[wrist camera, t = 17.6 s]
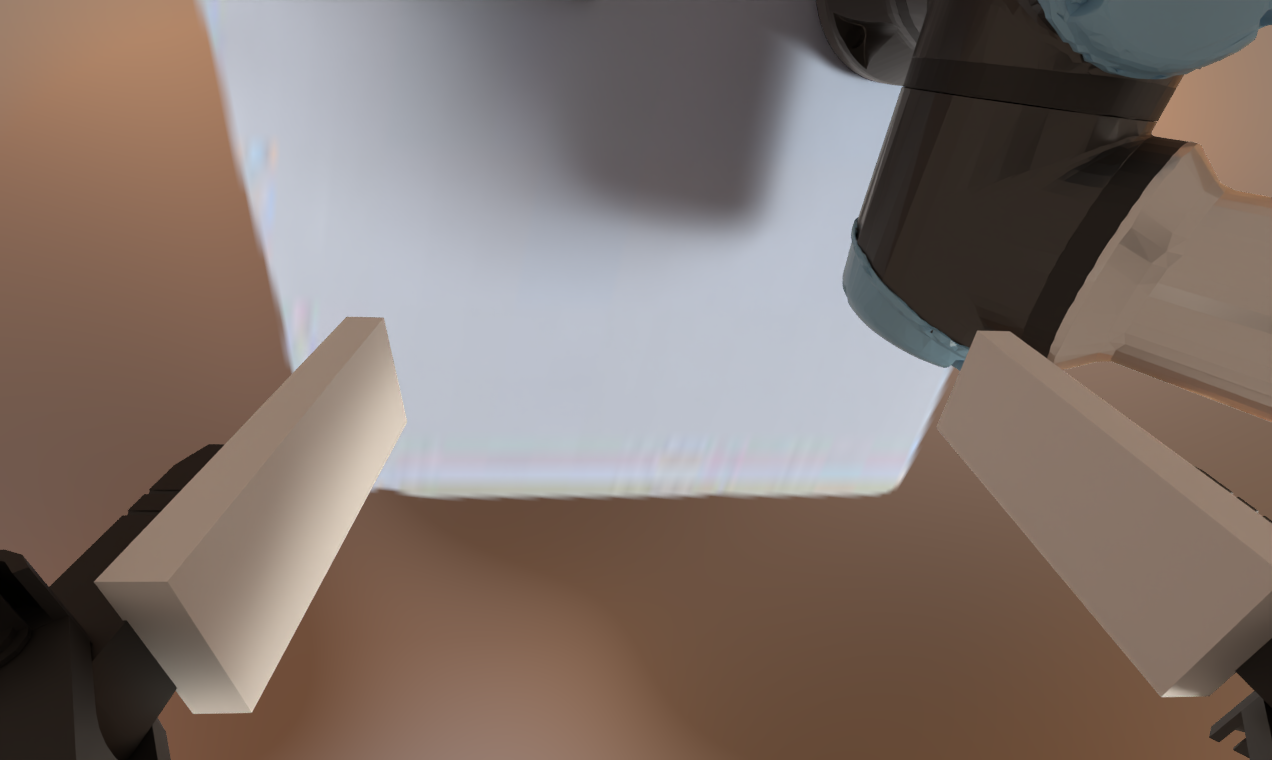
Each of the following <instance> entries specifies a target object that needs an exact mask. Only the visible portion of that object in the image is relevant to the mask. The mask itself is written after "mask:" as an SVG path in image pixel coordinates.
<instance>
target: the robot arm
mask: <svg viewBox="0 0 1272 760" xmlns="http://www.w3.org/2000/svg"><path fill="white" fill-rule="evenodd" d="M816 2H817V9H818V15H819V19H820V23H821V26H822V29H823V31H824V34H825V36H826V39H827V41H828V43H829V44H830V46H831V48H832V49H833V51H834V52H835V54H836V55H837V56H838V58H839V59H840V60H841V61H842V62H843V63H844V64H845V65H846V66H847V67H848V68H850V69H851V70H852V71H854V72H855V73H857V74H858V75H860V76H862V77H864V78H866V79H869V80H872V81H875V82H879V83H884V84H891V85H899V86H904V87H902V88H901V91H900V94H899V97H898V100H897V103H896V106H895V109H894V112H893V115H892V118H891V121H890V124H889V127H888V130H887V133H886V136H885V139H884V142H883V145H882V148H881V151H880V154H879V157H878V160H877V163H876V166H875V169H874V172H873V175H872V178H871V181H870V184H869V187H868V190H867V193H866V196H865V199H864V202H863V205H862V208H861V211H860V214H859V217H858V218H857V219H856V220H855V221H854V224H853V227H852V232H851V239H852V243H851V247H850V250H849V254H848V257H847V261H846V265H845V268H844V272H843V289H844V292H845V294H846V296H847V298H848V303H849V305H850V306H851V308H852V309H853V311H854V312H855V313H856V315H857V316H858V317H859V318H860V319H861V320H862V321H863V322H864V323H865V324H866V325H867V326H868V327H869V328H870V329H871V330H873V331H874V332H875V333H877V334H878V335H879V336H881V337H882V338H884V339H885V340H886V341H888V342H890V343H891V344H893V345H894V346H896V347H898V348H899V349H901V350H903V351H905V352H907V353H909V354H911V355H913V356H915V357H917V358H919V359H921V360H924V361H926V362H929V363H931V364H934V365H937V366H940V367H943V368H947V367H949V366H950V365H952V366H953V367H955V368H957V369H958V370H959V371H960V373H959V375H958V378H957V380H956V382H955V385H954V387H953V389H952V392H951V394H950V397H949V399H948V401H947V404H946V406H945V409H944V411H943V413H942V416H941V418H940V420H939V423H938V425H937V429H938V430H939V432H940V433H941V434H942V435H943V437H944V438H945V439H946V440H947V441H948V443H949V444H950V445H951V446H952V447H953V449H954V450H955V451H956V452H957V453H958V455H959V456H960V457H961V458H962V459H963V461H964V462H965V463H966V464H967V465H968V467H969V468H970V469H971V470H972V471H973V473H975V475H976V476H977V477H978V479H979V480H980V481H981V482H982V483H983V485H984V486H985V487H986V488H987V489H988V490H989V492H990V493H991V494H992V495H993V496H994V498H995V499H996V500H997V501H998V502H999V504H1000V505H1001V506H1002V507H1003V508H1004V510H1005V511H1006V512H1007V513H1008V514H1009V516H1010V517H1011V518H1012V519H1013V520H1014V522H1015V523H1016V524H1017V525H1018V526H1019V527H1020V529H1021V530H1022V531H1023V532H1024V534H1025V535H1026V536H1027V537H1028V538H1029V540H1030V541H1031V542H1032V543H1033V544H1034V546H1035V547H1036V548H1037V549H1038V550H1039V551H1040V553H1041V554H1042V555H1043V556H1044V557H1045V559H1046V560H1047V561H1048V562H1049V564H1050V565H1051V566H1052V567H1053V568H1054V570H1055V571H1056V572H1057V573H1058V574H1059V575H1060V577H1061V578H1062V579H1063V580H1064V581H1065V583H1066V584H1067V585H1068V586H1069V587H1070V589H1071V590H1072V591H1073V592H1074V593H1075V595H1076V596H1077V597H1078V598H1079V599H1080V601H1081V602H1082V603H1083V604H1084V605H1085V607H1086V608H1087V609H1088V610H1089V611H1090V613H1091V614H1092V615H1093V616H1094V617H1095V619H1096V620H1097V621H1098V622H1099V623H1100V625H1101V626H1102V627H1103V628H1104V629H1105V630H1106V632H1107V633H1108V634H1109V635H1110V636H1111V638H1112V639H1113V640H1114V641H1115V643H1116V644H1117V645H1118V646H1119V647H1120V648H1121V650H1122V651H1123V652H1124V653H1125V655H1126V656H1127V657H1128V658H1129V659H1130V660H1131V661H1132V663H1133V664H1134V665H1135V666H1136V668H1137V669H1138V670H1139V671H1140V672H1141V673H1142V675H1143V676H1144V677H1145V678H1146V680H1147V681H1148V682H1149V683H1150V684H1151V686H1152V687H1153V688H1154V689H1155V690H1156V692H1157V693H1158V694H1159V695H1160V696H1161V697H1192V696H1193V697H1195V696H1210V695H1211V694H1212V693H1213V692H1214V691H1216V690H1217V689H1218V688H1219V687H1220V686H1221V685H1222V684H1223V683H1225V682H1226V681H1227V680H1228V679H1229V678H1230V677H1231V676H1232V675H1234V674H1235V673H1236V672H1237V673H1238V674H1239V675H1240V676H1241V677H1242V678H1243V679H1244V680H1245V681H1246V682H1247V683H1248V684H1249V685H1250V686H1251V687H1252V688H1253V689H1254V692H1253V693H1251V694H1250V695H1249V696H1248V697H1246V698H1245V699H1244V700H1243V701H1242V702H1241V703H1239V704H1238V705H1237V706H1236V707H1234V708H1233V709H1232V710H1231V711H1230V712H1228V713H1227V714H1226V715H1225V716H1224V717H1222V718H1221V719H1220V720H1219V721H1218V722H1216V723H1215V724H1214V725H1213V726H1212V727H1211V731H1210V736H1209V737H1210V738H1211V739H1213V740H1215V741H1217V742H1220V741H1221V740H1223V739H1224V738H1225V737H1226V736H1228V735H1229V734H1230V733H1231V732H1233V731H1234V730H1239V731H1242V732H1245V735H1246V738H1245V739H1244V740H1242V741H1241V742H1240V743H1239V744H1237V745H1236V746H1235V747H1234V748H1233V750H1234V751H1236V752H1238V753H1240V754H1242V755H1244V756H1246V757H1248V758H1250V760H1272V521H1271V520H1269V519H1268V518H1267V517H1266V516H1261V515H1259V514H1258V510H1256V509H1255V508H1253V507H1252V506H1251V505H1249V504H1248V503H1247V502H1245V501H1244V500H1242V499H1241V498H1239V497H1235V496H1234V495H1233V492H1231V491H1230V490H1229V489H1227V488H1226V487H1224V486H1223V485H1222V484H1220V483H1219V482H1217V481H1216V480H1215V479H1214V478H1212V477H1211V476H1210V475H1208V474H1207V473H1205V472H1204V471H1202V470H1201V469H1199V468H1197V467H1195V466H1193V465H1191V464H1190V463H1189V462H1187V461H1186V460H1184V459H1183V458H1182V457H1180V456H1179V455H1178V454H1176V453H1175V452H1174V451H1172V450H1171V449H1170V448H1168V447H1167V446H1165V445H1164V444H1163V443H1161V442H1160V441H1159V440H1157V439H1156V438H1154V437H1153V436H1152V435H1150V434H1149V433H1148V432H1146V431H1145V430H1144V429H1142V428H1141V427H1140V426H1138V425H1137V424H1135V423H1134V422H1133V421H1131V420H1130V419H1129V418H1127V417H1126V416H1124V415H1123V414H1122V413H1120V412H1119V411H1118V410H1116V409H1115V408H1114V407H1112V406H1111V405H1110V404H1108V403H1107V402H1105V401H1104V400H1103V399H1101V398H1100V397H1099V396H1097V395H1096V394H1094V393H1093V392H1092V391H1090V390H1089V389H1088V388H1086V387H1085V386H1084V385H1082V384H1081V383H1080V382H1078V381H1077V380H1076V379H1074V378H1073V377H1071V376H1070V375H1069V374H1067V373H1066V372H1065V371H1063V370H1066V369H1070V368H1074V367H1078V366H1082V365H1086V364H1090V363H1094V362H1114V363H1116V364H1119V365H1122V366H1125V367H1127V368H1130V369H1132V370H1135V371H1138V372H1140V373H1143V374H1145V375H1148V376H1151V377H1153V378H1156V379H1159V380H1161V381H1164V382H1166V383H1169V384H1172V385H1175V386H1177V387H1180V388H1182V389H1185V390H1188V391H1190V392H1193V393H1195V394H1198V395H1201V396H1203V397H1206V398H1209V399H1212V400H1214V401H1217V402H1219V403H1222V404H1224V405H1227V406H1230V407H1233V408H1235V409H1238V410H1241V411H1243V412H1246V413H1249V414H1251V415H1254V416H1256V417H1259V418H1261V419H1264V420H1267V421H1270V422H1272V197H1268V196H1262V195H1258V194H1252V193H1247V192H1242V191H1237V190H1233V189H1232V188H1230V187H1227V186H1226V185H1223V184H1222V183H1221V182H1220V180H1219V178H1218V177H1217V175H1216V173H1215V171H1214V169H1213V167H1212V165H1211V163H1210V161H1209V159H1208V157H1207V155H1206V153H1205V151H1204V149H1203V148H1202V145H1200V144H1198V143H1194V142H1186V141H1180V140H1173V139H1167V138H1161V137H1155V136H1153V135H1152V134H1151V133H1152V130H1153V128H1154V127H1155V125H1156V123H1157V122H1155V121H1158V120H1159V118H1160V116H1161V114H1162V112H1163V111H1164V109H1165V107H1166V105H1167V104H1168V102H1169V100H1170V98H1171V97H1172V95H1173V93H1174V91H1175V90H1176V88H1177V86H1178V84H1179V83H1180V81H1181V79H1182V77H1183V76H1184V74H1188V73H1189V72H1191V71H1193V70H1195V69H1200V68H1202V67H1205V66H1207V65H1209V64H1212V63H1214V62H1217V61H1220V60H1222V59H1224V58H1226V57H1228V56H1230V55H1232V54H1234V53H1236V52H1238V51H1239V50H1241V49H1243V48H1244V47H1246V46H1247V45H1249V44H1250V43H1251V42H1252V41H1253V40H1255V38H1256V36H1257V32H1258V29H1260V28H1262V27H1264V26H1267V25H1272V0H816ZM406 423H407V419H406V415H405V410H404V406H403V401H402V397H401V392H400V388H399V384H398V379H397V375H396V370H395V366H394V361H393V357H392V352H391V348H390V344H389V339H388V335H387V330H386V326H385V321H384V318H375V317H346V318H345V319H344V320H343V321H342V322H341V323H340V324H339V325H338V327H337V328H336V329H335V330H334V331H333V332H332V333H331V334H330V335H329V336H328V337H327V338H326V339H325V340H324V341H323V342H322V343H321V344H320V345H319V346H318V347H317V349H316V350H315V351H314V352H313V353H312V354H311V355H310V356H309V357H308V358H307V359H306V360H305V361H304V362H303V363H302V364H301V365H300V366H299V367H298V368H297V369H296V371H295V372H294V373H293V374H292V375H291V376H290V377H289V378H288V379H287V380H286V381H285V382H284V383H283V384H282V385H281V386H280V387H279V388H278V389H277V391H276V392H275V393H274V394H273V395H272V396H271V397H270V398H269V399H268V400H267V401H266V402H265V403H264V404H263V405H262V406H261V407H260V408H259V409H258V410H257V411H256V413H255V414H254V415H253V416H252V417H251V418H250V419H249V420H248V421H247V422H246V423H245V424H244V425H243V426H242V427H241V428H240V429H239V430H238V431H237V432H236V434H235V435H234V436H233V437H232V438H231V439H230V440H229V441H228V442H227V443H226V444H225V445H219V444H209V445H207V446H205V447H204V448H202V449H200V450H199V451H197V452H196V453H194V454H192V455H190V456H189V457H187V458H185V459H184V460H182V461H180V462H179V463H177V464H176V465H174V466H173V467H172V468H171V469H170V470H169V471H168V472H167V473H166V474H165V475H164V476H163V477H162V478H161V479H160V480H159V481H158V482H157V483H155V484H154V485H153V486H152V488H150V492H149V494H144V495H143V496H142V497H141V498H140V499H139V500H138V501H137V502H136V503H135V504H134V505H133V506H132V507H131V508H130V509H129V510H128V515H127V516H122V517H121V518H120V519H119V520H117V522H115V524H113V526H111V527H110V528H109V529H108V530H107V531H106V532H105V533H104V534H103V535H102V536H101V537H100V538H99V539H98V540H97V541H96V542H95V543H94V544H93V545H92V546H91V547H90V548H89V549H88V550H87V551H86V552H85V553H84V554H83V555H82V556H81V557H80V558H79V559H77V561H75V562H74V563H73V564H72V565H71V566H70V567H69V568H68V569H67V570H66V571H65V572H64V573H63V574H62V575H61V576H60V577H59V578H58V579H57V580H56V581H55V582H54V583H53V584H52V585H51V586H50V587H48V586H47V584H46V583H45V582H44V581H43V580H42V578H41V577H40V576H39V575H38V573H37V572H36V571H35V570H34V569H33V567H32V566H31V565H30V564H29V562H28V561H27V560H26V559H25V558H24V557H23V555H21V554H17V553H14V552H11V551H7V550H0V760H171V759H170V753H169V747H168V742H167V736H166V731H165V730H164V728H163V726H162V725H161V723H160V721H159V719H158V718H157V717H158V716H159V714H160V713H161V711H162V710H163V708H164V707H165V705H166V704H167V702H168V701H169V699H170V698H171V696H172V695H173V693H174V692H175V690H176V692H177V693H178V694H179V696H180V697H181V698H182V700H183V701H184V702H185V703H186V705H187V706H188V708H189V709H190V710H191V712H192V713H193V714H200V713H201V714H204V713H205V714H206V713H252V711H253V709H254V708H255V705H256V704H257V702H258V700H259V698H260V696H261V694H262V693H263V691H264V689H265V687H266V685H267V683H268V681H269V679H270V678H271V676H272V674H273V672H274V670H275V668H276V666H277V664H278V663H279V661H280V659H281V657H282V655H283V653H284V651H285V649H286V648H287V646H288V644H289V642H290V640H291V638H292V636H293V635H294V633H295V631H296V629H297V627H298V625H299V623H300V621H301V619H302V618H303V616H304V614H305V612H306V610H307V608H308V606H309V604H310V603H311V601H312V599H313V597H314V595H315V593H316V592H317V590H318V588H319V586H320V584H321V582H322V580H323V578H324V577H325V575H326V573H327V571H328V569H329V567H330V565H331V563H332V561H333V560H334V558H335V556H336V554H337V552H338V550H339V548H340V547H341V545H342V543H343V541H344V539H345V537H346V535H347V533H348V532H349V530H350V528H351V526H352V524H353V522H354V520H355V518H356V517H357V515H358V513H359V511H360V509H361V507H362V505H363V504H364V502H365V500H366V498H367V496H368V494H369V492H370V490H371V489H372V487H373V485H374V483H375V481H376V479H377V477H378V476H379V474H380V472H381V470H382V468H383V466H384V464H385V462H386V461H387V459H388V457H389V455H390V453H391V451H392V449H393V447H394V446H395V444H396V442H397V440H398V438H399V436H400V434H401V432H402V431H403V429H404V427H405V425H406Z"/></svg>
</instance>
